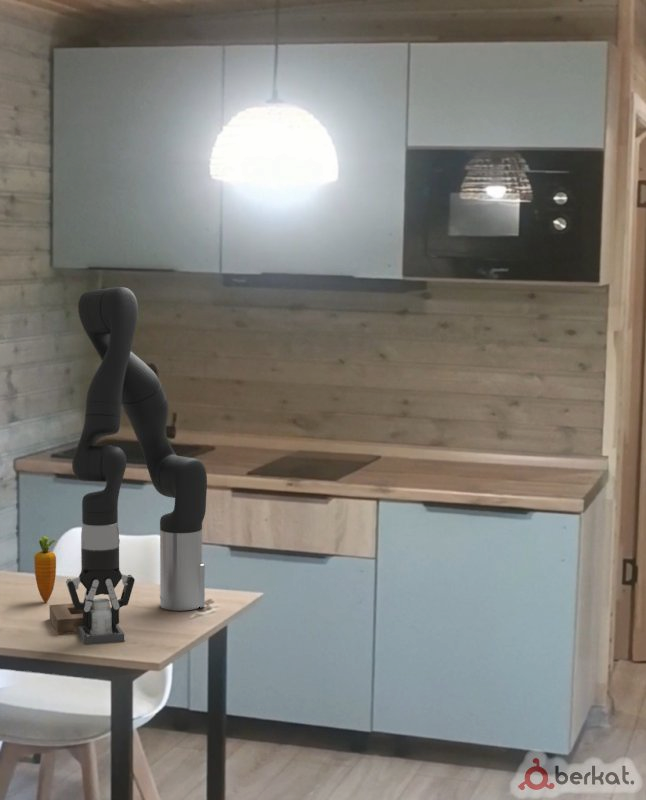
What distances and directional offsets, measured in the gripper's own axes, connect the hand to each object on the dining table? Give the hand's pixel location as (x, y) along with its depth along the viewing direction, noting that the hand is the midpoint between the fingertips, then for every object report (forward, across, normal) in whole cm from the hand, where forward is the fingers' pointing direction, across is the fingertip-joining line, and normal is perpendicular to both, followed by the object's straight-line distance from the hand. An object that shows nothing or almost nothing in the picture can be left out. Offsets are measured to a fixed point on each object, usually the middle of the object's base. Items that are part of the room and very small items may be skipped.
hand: (100, 627), depth 269 cm
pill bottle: (+2, 0, 0) cm, 2 cm away
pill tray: (+2, 0, 0) cm, 2 cm away
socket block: (+2, +2, -11) cm, 11 cm away
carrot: (+2, +7, -31) cm, 32 cm away
